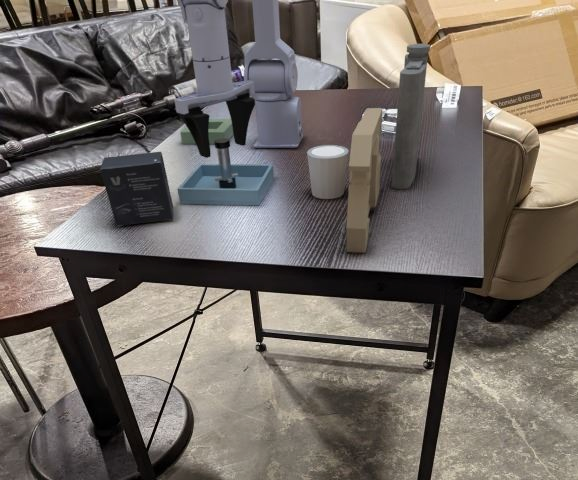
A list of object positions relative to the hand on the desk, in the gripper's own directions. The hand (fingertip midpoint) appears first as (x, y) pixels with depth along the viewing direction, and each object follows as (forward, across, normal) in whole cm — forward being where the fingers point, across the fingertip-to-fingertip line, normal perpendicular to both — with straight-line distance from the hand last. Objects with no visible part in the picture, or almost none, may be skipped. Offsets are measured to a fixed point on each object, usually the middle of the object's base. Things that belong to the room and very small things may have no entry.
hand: (223, 150), depth 90 cm
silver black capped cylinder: (+6, 0, 0) cm, 6 cm away
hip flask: (+7, -26, +19) cm, 33 cm away
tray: (+7, 0, 0) cm, 7 cm away
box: (+7, +16, -2) cm, 18 cm away
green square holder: (+7, -17, -29) cm, 34 cm away
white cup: (+7, -11, +15) cm, 19 cm away
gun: (+7, -7, +26) cm, 28 cm away
